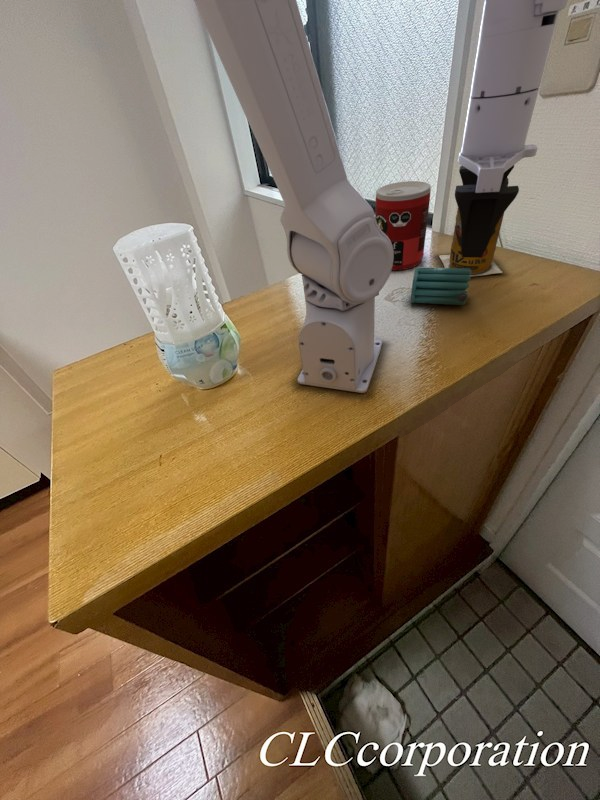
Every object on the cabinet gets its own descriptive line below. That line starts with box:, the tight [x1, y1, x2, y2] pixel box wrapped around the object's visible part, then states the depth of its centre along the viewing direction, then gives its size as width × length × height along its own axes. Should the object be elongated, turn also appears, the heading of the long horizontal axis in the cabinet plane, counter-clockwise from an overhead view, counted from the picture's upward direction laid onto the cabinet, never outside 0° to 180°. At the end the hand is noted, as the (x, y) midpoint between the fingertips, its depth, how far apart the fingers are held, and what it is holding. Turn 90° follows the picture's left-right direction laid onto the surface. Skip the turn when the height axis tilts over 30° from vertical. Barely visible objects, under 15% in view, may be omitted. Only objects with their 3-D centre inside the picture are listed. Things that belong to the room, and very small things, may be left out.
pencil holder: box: [410, 266, 472, 306], centre depth 46 cm, size 7×6×5 cm
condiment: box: [438, 177, 509, 277], centre depth 50 cm, size 7×8×12 cm
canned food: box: [374, 180, 432, 271], centre depth 55 cm, size 8×8×11 cm
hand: (472, 242), depth 41 cm, fingers open, 7 cm apart
